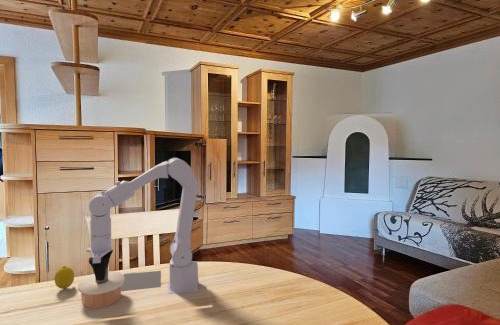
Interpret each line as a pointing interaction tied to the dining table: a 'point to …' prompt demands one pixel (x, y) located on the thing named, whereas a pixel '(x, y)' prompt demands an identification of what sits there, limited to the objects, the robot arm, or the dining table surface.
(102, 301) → the bowl
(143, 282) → the mat
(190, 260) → the robot arm
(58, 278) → the lemon
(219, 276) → the dining table surface
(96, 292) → the lid
